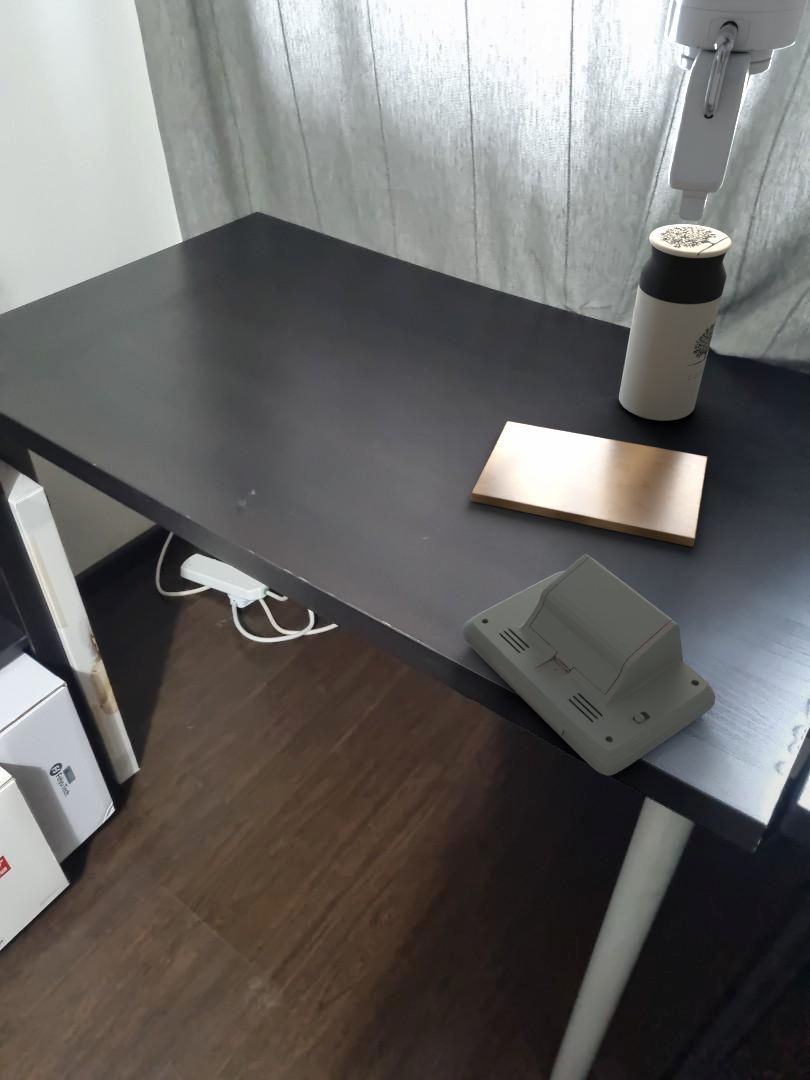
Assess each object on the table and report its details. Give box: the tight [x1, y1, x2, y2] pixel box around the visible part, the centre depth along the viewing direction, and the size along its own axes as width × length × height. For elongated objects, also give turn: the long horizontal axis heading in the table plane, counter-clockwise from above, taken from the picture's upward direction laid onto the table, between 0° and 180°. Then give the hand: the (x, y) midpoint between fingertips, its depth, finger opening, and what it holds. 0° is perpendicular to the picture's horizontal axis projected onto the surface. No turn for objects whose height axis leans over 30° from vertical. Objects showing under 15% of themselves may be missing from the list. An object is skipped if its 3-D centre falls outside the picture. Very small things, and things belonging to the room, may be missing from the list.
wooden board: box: [470, 420, 708, 548], centre depth 78 cm, size 20×13×1 cm, turn 70°
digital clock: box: [461, 553, 716, 776], centre depth 59 cm, size 16×9×11 cm
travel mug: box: [618, 223, 733, 422], centre depth 84 cm, size 8×8×18 cm
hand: (691, 214), depth 66 cm, fingers closed
